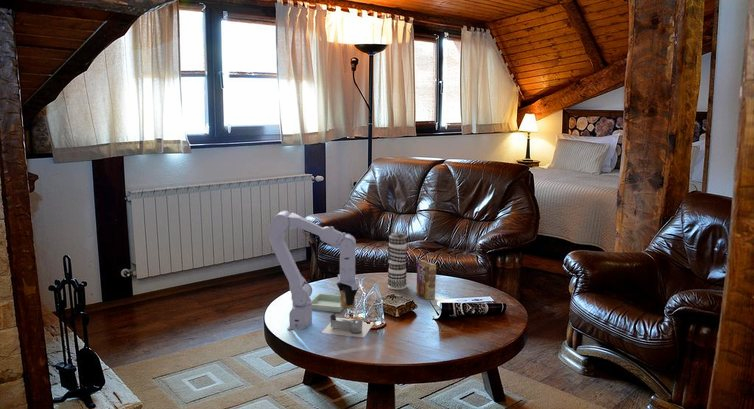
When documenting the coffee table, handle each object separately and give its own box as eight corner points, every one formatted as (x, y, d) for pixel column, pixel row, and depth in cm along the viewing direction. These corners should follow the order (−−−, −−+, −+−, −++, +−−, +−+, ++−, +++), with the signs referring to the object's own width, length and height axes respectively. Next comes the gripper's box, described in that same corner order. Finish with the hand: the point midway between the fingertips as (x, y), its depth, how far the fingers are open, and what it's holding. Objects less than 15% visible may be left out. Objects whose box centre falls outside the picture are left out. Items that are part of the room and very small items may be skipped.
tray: (340, 314, 238) (340, 307, 238) (306, 311, 242) (306, 304, 241) (350, 303, 252) (350, 296, 251) (318, 300, 255) (318, 293, 254)
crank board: (363, 340, 213) (363, 337, 213) (321, 335, 217) (321, 332, 217) (375, 323, 229) (375, 321, 228) (335, 319, 232) (335, 317, 232)
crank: (364, 330, 219) (364, 317, 218) (358, 334, 215) (359, 321, 214) (333, 324, 224) (333, 311, 223) (327, 328, 220) (327, 315, 219)
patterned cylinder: (384, 284, 277) (384, 231, 272) (403, 282, 280) (403, 230, 275) (390, 290, 268) (391, 236, 264) (410, 288, 271) (411, 234, 267)
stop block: (354, 307, 223) (354, 292, 222) (344, 309, 221) (344, 293, 220) (350, 304, 227) (350, 289, 226) (340, 305, 225) (340, 290, 224)
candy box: (435, 298, 258) (436, 264, 255) (427, 300, 256) (428, 265, 253) (423, 292, 266) (424, 259, 263) (415, 294, 263) (416, 260, 261)
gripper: (365, 271, 217) (365, 307, 219) (349, 261, 229) (349, 295, 232) (347, 273, 214) (347, 310, 216) (332, 263, 226) (332, 298, 229)
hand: (347, 303), depth 224 cm, fingers closed on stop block, 4 cm apart
